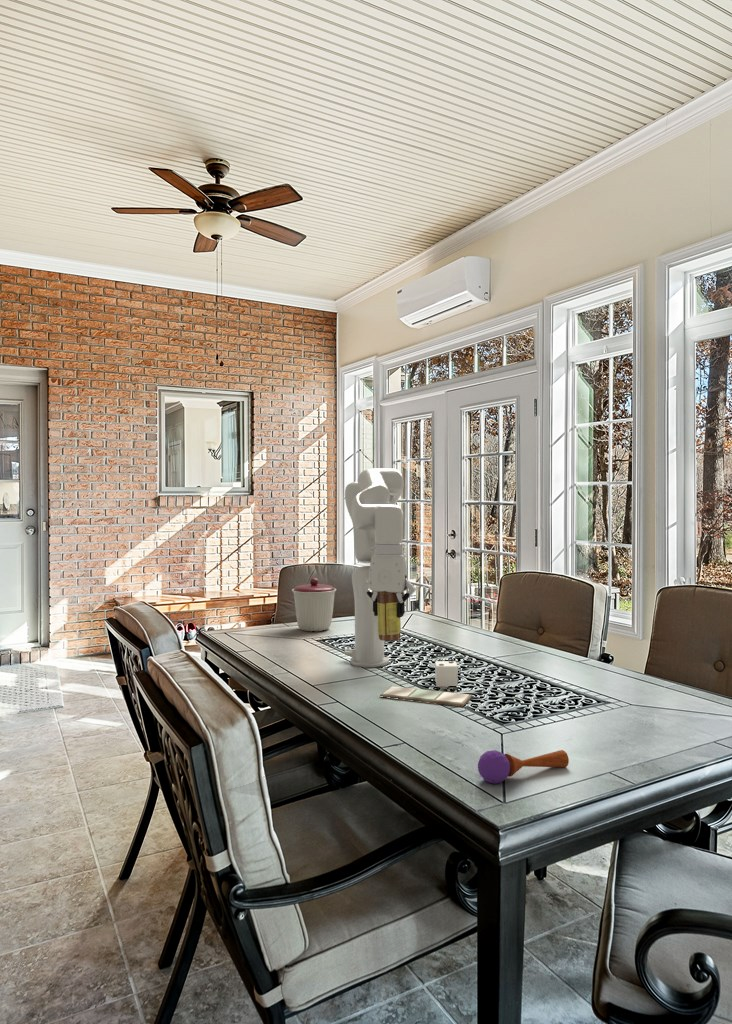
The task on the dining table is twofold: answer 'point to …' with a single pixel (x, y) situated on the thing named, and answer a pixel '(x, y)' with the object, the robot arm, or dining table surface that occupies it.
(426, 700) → the board
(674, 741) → the dining table surface
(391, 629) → the sauce bottle
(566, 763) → the kendama
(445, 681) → the die
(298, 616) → the canister
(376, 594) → the robot arm
